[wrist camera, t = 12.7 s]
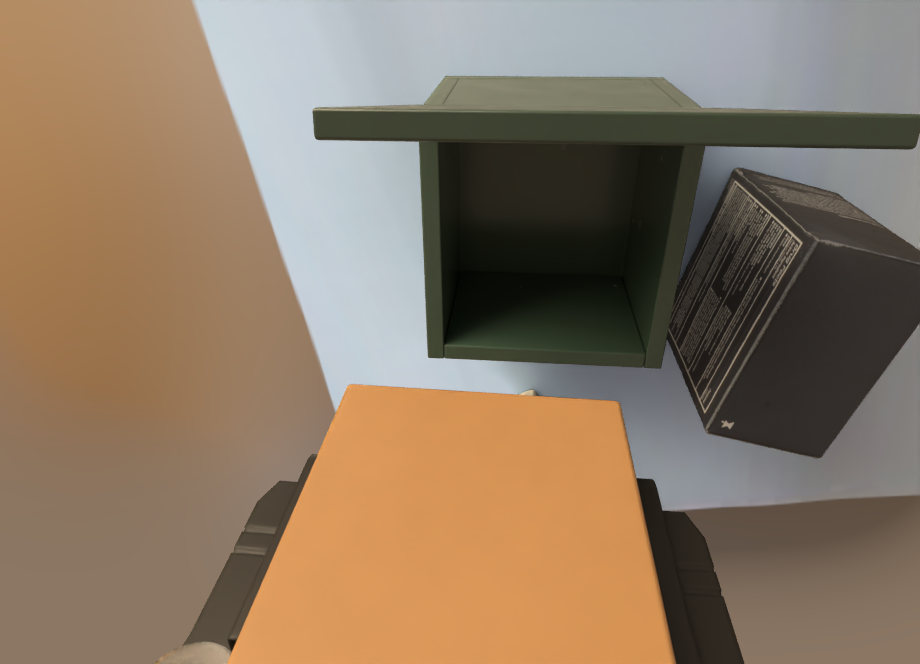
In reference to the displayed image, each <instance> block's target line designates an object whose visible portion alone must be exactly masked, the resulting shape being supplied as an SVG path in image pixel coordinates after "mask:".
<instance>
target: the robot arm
mask: <svg viewBox="0 0 920 664" xmlns="http://www.w3.org/2000/svg"><path fill="white" fill-rule="evenodd" d="M317 455H318V454H312V455H311V456H310V457H309V458H308V460H307V463H306V464H305V467H304V469H303V471H302V473H301V475H300V478H299V480H298V482H289V481H279V482H278V483H277V484H276V485H275V486H274V487H273V488H271V490H269V491H268V492H267V493H266V494H265V495H264V496H263V497H262V498H261V499H260V500H259V501H258V502H257V504H256V506H255V508H254V510H253V511H252V513H251V515H250V517H249V519H248V521H247V523H246V525H245V530H244V532H242V533H241V535H240V537H239V539H238V541H237V543H236V545H235V547H234V552H233V553H231V555H230V557H229V559H228V561H227V563H226V565H225V567H224V569H223V571H222V572H221V575H220V576H219V578H218V580H217V582H216V584H215V586H214V588H213V590H212V592H211V594H210V596H209V598H208V600H207V602H206V604H205V606H204V608H203V610H202V612H201V614H200V616H199V618H198V620H197V622H196V624H195V626H194V628H193V630H192V632H191V633H190V635H189V637H188V638H187V640H186V641H185V643H184V644H183V645H182V646H181V647H179V648H177V649H174V650H173V651H171V652H169V653H167V654H166V655H164V656H163V657H162V658H160V659H159V660H158V661H156V662H155V663H154V664H227V662H228V660H229V657H230V655H231V653H232V651H233V648H234V646H235V644H236V641H237V639H238V637H239V635H240V632H241V630H242V628H243V625H244V623H245V621H246V618H247V616H248V614H249V612H250V609H251V607H252V605H253V602H254V600H255V598H256V595H257V593H258V591H259V589H260V586H261V584H262V582H263V579H264V577H265V575H266V573H267V570H268V568H269V566H270V563H271V561H272V559H273V556H274V554H275V552H276V550H277V547H278V545H279V543H280V540H281V538H282V536H283V534H284V531H285V529H286V527H287V524H288V522H289V520H290V517H291V515H292V513H293V511H294V508H295V506H296V504H297V501H298V499H299V497H300V494H301V492H302V490H303V488H304V485H305V483H306V481H307V478H308V476H309V474H310V472H311V469H312V467H313V465H314V462H315V460H316V458H317ZM636 479H637V484H638V488H639V493H640V498H641V502H642V507H643V511H644V516H645V521H646V525H647V530H648V535H649V539H650V544H651V549H652V553H653V558H654V563H655V567H656V572H657V577H658V581H659V586H660V590H661V595H662V600H663V604H664V609H665V614H666V618H667V623H668V628H669V632H670V637H671V642H672V646H673V651H674V655H675V660H676V664H744V661H743V657H742V655H741V651H740V648H739V645H738V642H737V639H736V635H735V633H734V629H733V626H732V623H731V619H730V616H729V613H728V610H727V607H726V604H725V601H724V597H723V596H721V588H720V585H719V581H718V578H717V575H716V573H715V572H714V570H713V568H714V565H713V562H712V559H711V556H710V553H709V550H708V547H707V543H706V540H705V538H704V536H703V535H702V534H701V532H700V531H699V530H698V529H697V528H696V526H695V525H694V524H693V522H692V521H691V520H690V519H689V517H688V516H687V515H686V514H685V513H684V512H671V511H662V507H661V503H660V499H659V495H658V491H657V487H656V484H655V482H654V480H652V479H642V478H636Z"/></svg>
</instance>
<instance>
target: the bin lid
mask: <svg viewBox="0 0 920 664" xmlns="http://www.w3.org/2000/svg"><path fill="white" fill-rule="evenodd" d="M313 123H314V136H315V138H316V139H317V140H351V141H413V142H476V143H539V144H602V145H664V146H727V147H790V148H852V149H913V148H915V147H916V145H917V141H918V137H919V133H920V114H891V113H859V112H828V111H796V110H764V109H732V108H672V107H578V106H484V105H392V106H356V107H320V108H314V109H313Z"/></svg>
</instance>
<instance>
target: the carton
mask: <svg viewBox="0 0 920 664" xmlns="http://www.w3.org/2000/svg"><path fill="white" fill-rule="evenodd" d="M227 664H676V660H675V655H674V651H673V646H672V642H671V637H670V632H669V628H668V623H667V618H666V614H665V609H664V604H663V600H662V595H661V590H660V586H659V581H658V577H657V572H656V567H655V563H654V558H653V553H652V549H651V544H650V539H649V535H648V530H647V525H646V521H645V516H644V511H643V507H642V502H641V498H640V493H639V488H638V484H637V479H636V474H635V470H634V465H633V460H632V456H631V451H630V446H629V442H628V437H627V433H626V428H625V423H624V419H623V414H622V409H621V405H620V403H619V402H617V401H608V400H592V399H577V398H561V397H545V396H530V395H514V394H498V393H482V392H467V391H451V390H435V389H420V388H404V387H388V386H373V385H357V384H351V385H348V387H347V389H346V391H345V393H344V396H343V398H342V400H341V403H340V405H339V407H338V410H337V412H336V414H335V416H334V419H333V421H332V423H331V426H330V428H329V430H328V433H327V435H326V437H325V439H324V442H323V444H322V446H321V449H320V451H319V453H318V455H317V458H316V460H315V462H314V465H313V467H312V469H311V472H310V474H309V476H308V478H307V481H306V483H305V485H304V488H303V490H302V492H301V494H300V497H299V499H298V501H297V504H296V506H295V508H294V511H293V513H292V515H291V517H290V520H289V522H288V524H287V527H286V529H285V531H284V534H283V536H282V538H281V540H280V543H279V545H278V547H277V550H276V552H275V554H274V556H273V559H272V561H271V563H270V566H269V568H268V570H267V573H266V575H265V577H264V579H263V582H262V584H261V586H260V589H259V591H258V593H257V595H256V598H255V600H254V602H253V605H252V607H251V609H250V612H249V614H248V616H247V618H246V621H245V623H244V625H243V628H242V630H241V632H240V635H239V637H238V639H237V641H236V644H235V646H234V648H233V651H232V653H231V655H230V657H229V660H228V662H227Z"/></svg>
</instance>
